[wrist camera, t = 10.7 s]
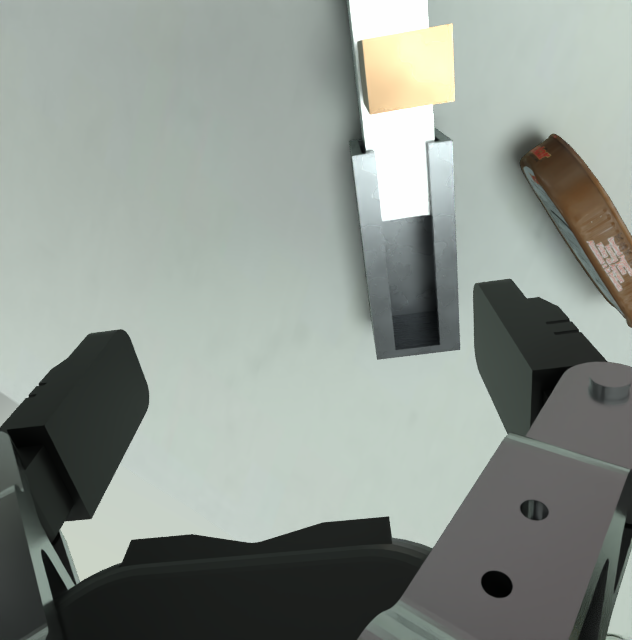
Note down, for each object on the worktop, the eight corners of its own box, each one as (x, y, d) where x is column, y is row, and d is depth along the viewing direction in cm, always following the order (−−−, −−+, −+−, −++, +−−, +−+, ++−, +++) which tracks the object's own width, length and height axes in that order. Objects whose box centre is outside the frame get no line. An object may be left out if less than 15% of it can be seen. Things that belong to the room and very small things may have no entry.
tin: (631, 278, 41) (697, 329, 34) (594, 301, 42) (650, 355, 35) (538, 122, 36) (592, 141, 28) (498, 152, 37) (540, 178, 29)
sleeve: (371, 321, 43) (377, 359, 38) (349, 141, 37) (352, 156, 31) (444, 312, 43) (460, 349, 37) (434, 127, 36) (452, 140, 31)
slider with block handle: (369, 205, 38) (383, 259, 28) (335, -101, 30) (337, -176, 20) (427, 197, 37) (461, 248, 28) (408, -116, 29) (447, -201, 20)
